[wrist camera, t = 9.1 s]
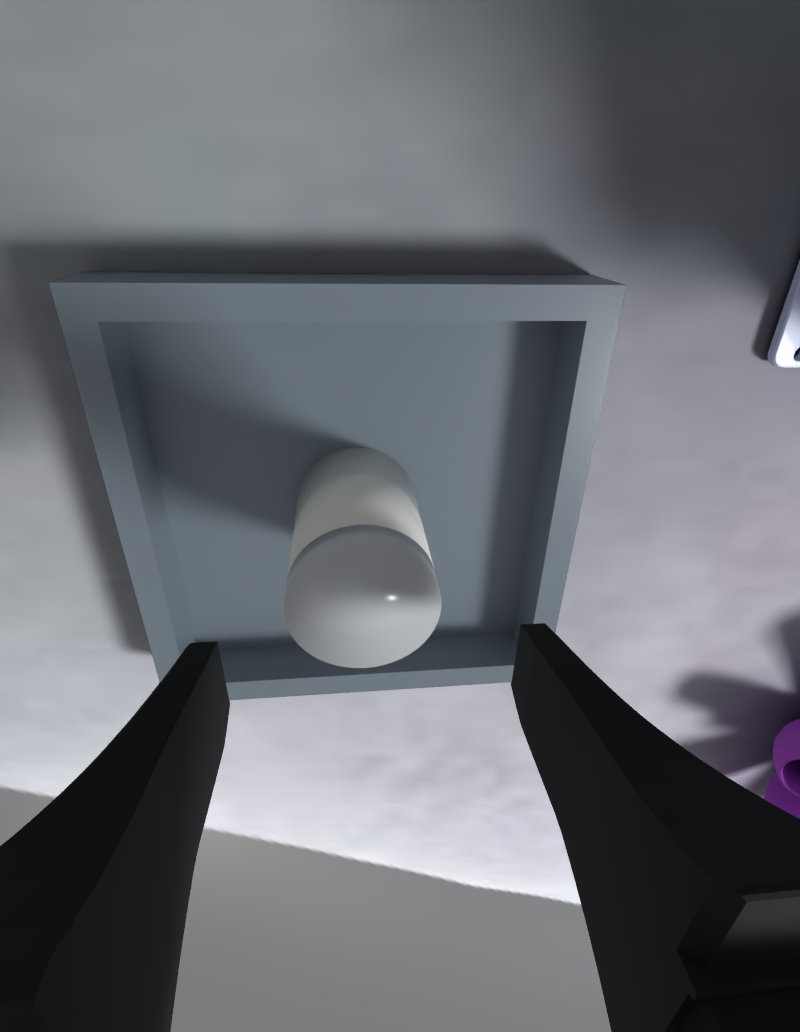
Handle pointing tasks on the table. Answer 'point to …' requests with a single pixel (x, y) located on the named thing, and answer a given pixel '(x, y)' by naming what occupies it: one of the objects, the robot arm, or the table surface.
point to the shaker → (359, 563)
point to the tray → (340, 447)
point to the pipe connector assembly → (786, 770)
